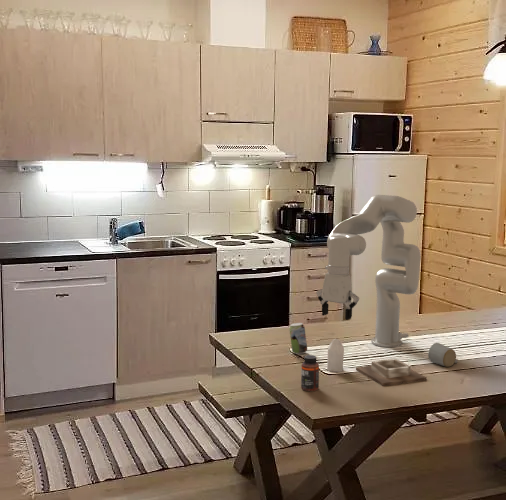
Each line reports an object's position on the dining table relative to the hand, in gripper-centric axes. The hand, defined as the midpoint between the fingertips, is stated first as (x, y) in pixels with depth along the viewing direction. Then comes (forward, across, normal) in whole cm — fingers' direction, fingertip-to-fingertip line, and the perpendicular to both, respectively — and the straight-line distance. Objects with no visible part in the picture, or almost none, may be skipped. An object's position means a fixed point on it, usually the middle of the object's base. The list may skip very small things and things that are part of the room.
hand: (336, 316), depth 252 cm
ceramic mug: (+20, +28, +34) cm, 48 cm away
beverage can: (+20, -22, +9) cm, 31 cm away
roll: (+20, 0, +1) cm, 20 cm away
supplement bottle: (+20, +4, -22) cm, 31 cm away
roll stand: (+20, +18, +8) cm, 28 cm away
